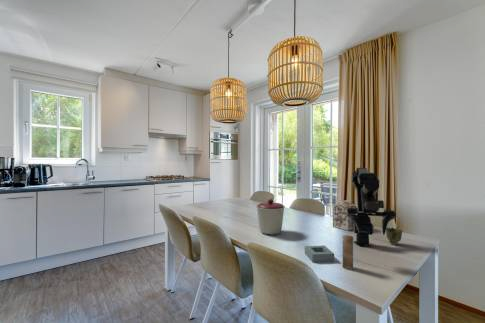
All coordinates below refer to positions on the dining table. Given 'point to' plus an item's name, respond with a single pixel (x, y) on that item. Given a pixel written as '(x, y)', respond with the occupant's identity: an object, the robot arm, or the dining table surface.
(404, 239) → the dining table surface
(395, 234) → the cup
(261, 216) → the canister
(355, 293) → the dining table surface
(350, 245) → the walnut dowel
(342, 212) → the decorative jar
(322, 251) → the socket block
